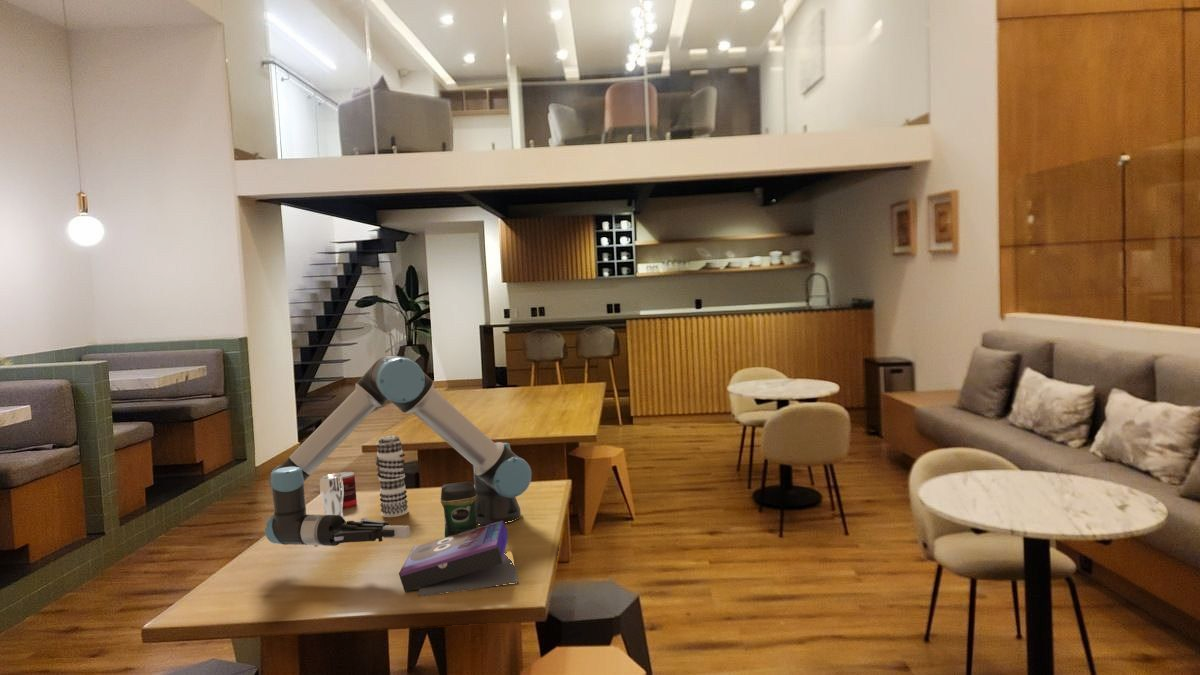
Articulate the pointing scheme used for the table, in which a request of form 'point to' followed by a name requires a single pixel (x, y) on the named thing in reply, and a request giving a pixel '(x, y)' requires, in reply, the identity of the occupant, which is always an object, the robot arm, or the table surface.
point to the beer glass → (332, 494)
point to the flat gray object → (475, 579)
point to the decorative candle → (391, 477)
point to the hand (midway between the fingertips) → (408, 532)
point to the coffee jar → (459, 507)
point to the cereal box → (454, 556)
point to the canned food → (349, 489)
